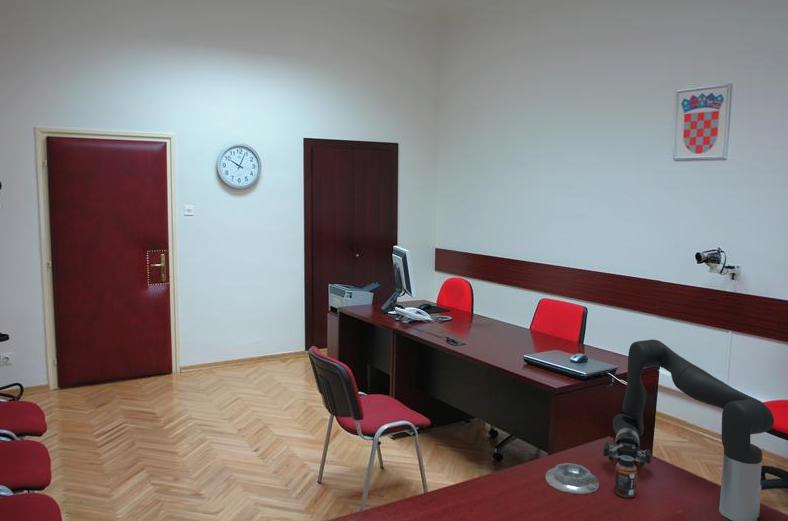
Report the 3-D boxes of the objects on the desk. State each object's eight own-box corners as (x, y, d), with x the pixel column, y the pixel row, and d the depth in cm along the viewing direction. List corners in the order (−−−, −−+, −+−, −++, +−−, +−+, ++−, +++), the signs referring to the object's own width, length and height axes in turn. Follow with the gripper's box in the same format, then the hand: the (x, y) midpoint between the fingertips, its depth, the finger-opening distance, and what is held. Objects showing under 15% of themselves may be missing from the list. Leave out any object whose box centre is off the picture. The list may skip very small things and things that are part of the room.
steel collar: (575, 466, 193) (575, 456, 192) (610, 488, 178) (610, 477, 178) (535, 474, 186) (535, 464, 186) (567, 498, 172) (568, 487, 171)
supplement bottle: (637, 499, 171) (639, 463, 170) (616, 497, 173) (618, 461, 171) (633, 490, 177) (635, 454, 176) (612, 487, 178) (614, 452, 177)
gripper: (605, 428, 200) (603, 446, 185) (650, 435, 195) (651, 454, 180) (604, 449, 201) (602, 469, 186) (649, 456, 196) (650, 477, 181)
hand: (626, 461), depth 183 cm, fingers open, 8 cm apart
